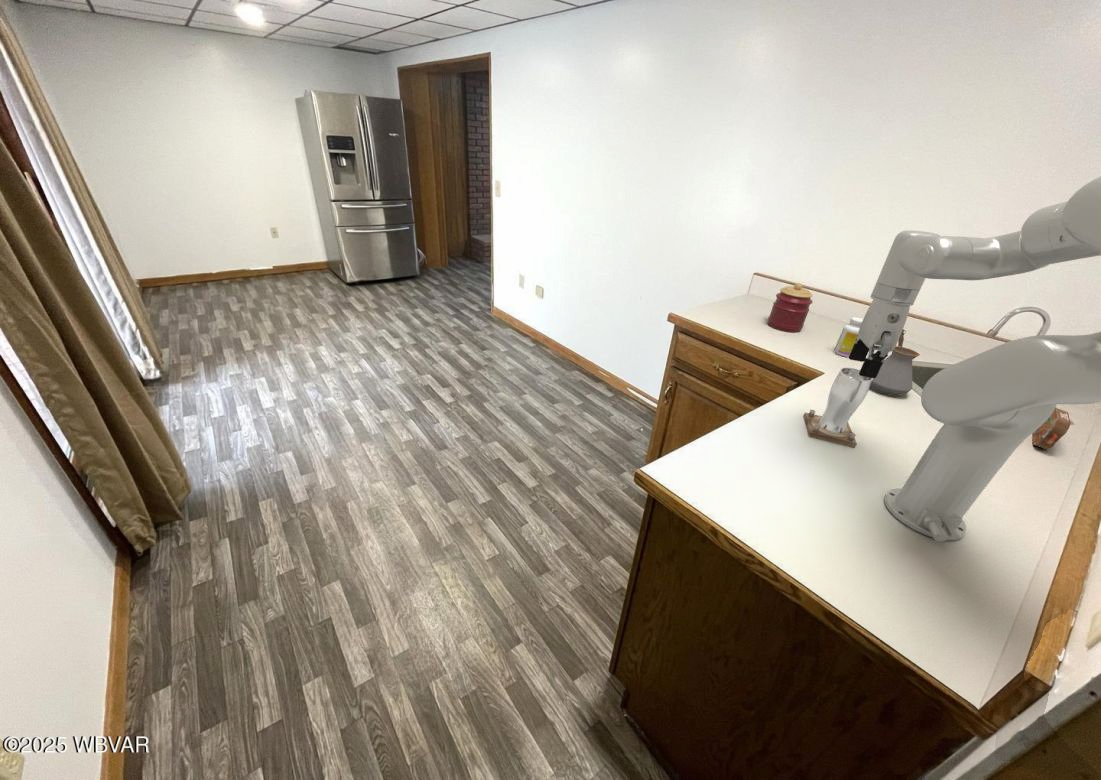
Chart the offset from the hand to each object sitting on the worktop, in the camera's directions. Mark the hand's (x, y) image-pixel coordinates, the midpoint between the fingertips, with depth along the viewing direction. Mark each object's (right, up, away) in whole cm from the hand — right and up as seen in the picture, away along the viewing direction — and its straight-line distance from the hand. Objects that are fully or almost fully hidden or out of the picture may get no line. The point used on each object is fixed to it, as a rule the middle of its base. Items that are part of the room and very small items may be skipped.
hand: (861, 368), depth 98 cm
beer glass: (-1, -14, +9) cm, 17 cm away
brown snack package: (+55, -18, +13) cm, 59 cm away
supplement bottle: (+33, +8, +54) cm, 64 cm away
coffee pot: (+33, -3, +36) cm, 49 cm away
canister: (+23, +20, +75) cm, 81 cm away
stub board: (-1, -15, +10) cm, 18 cm away
